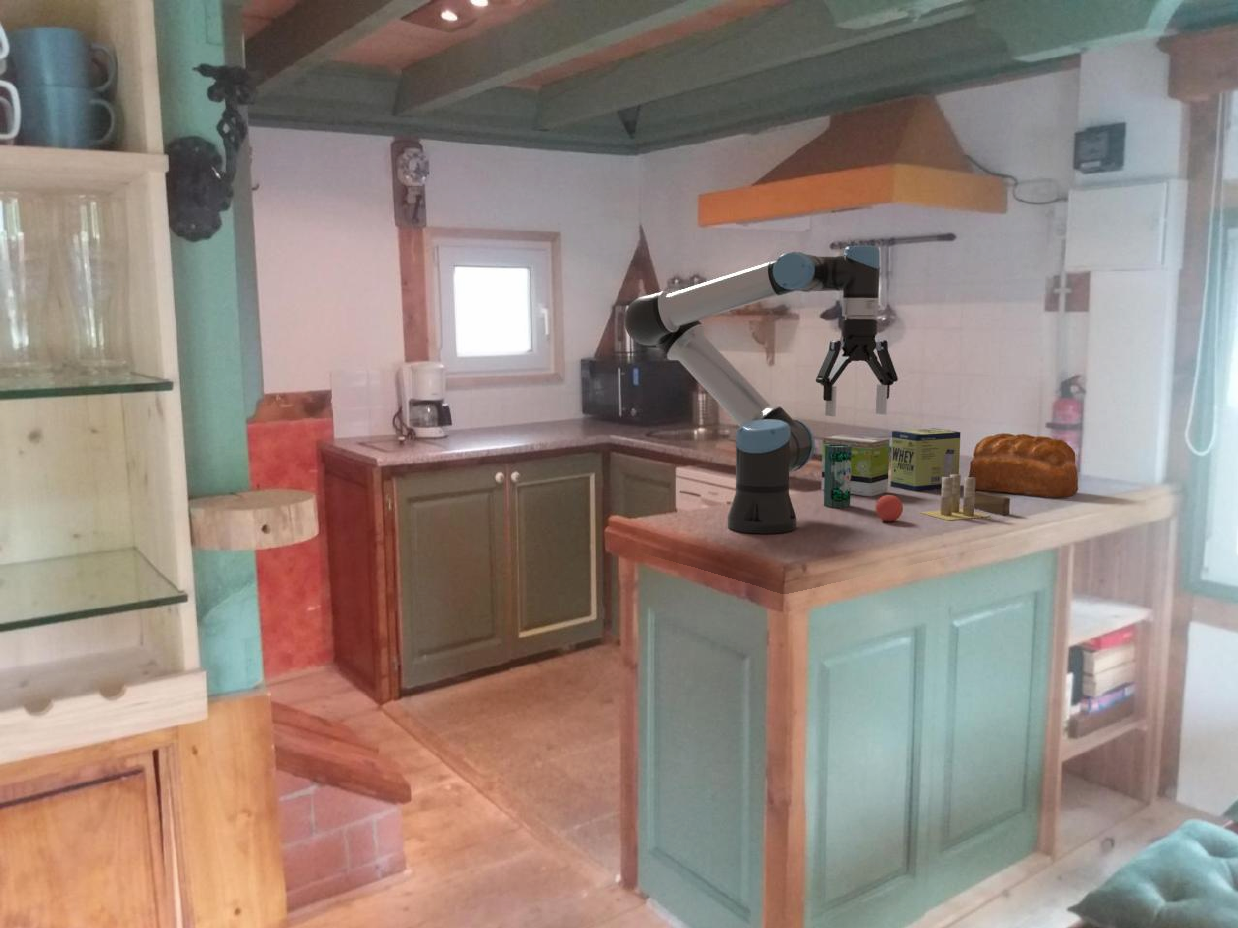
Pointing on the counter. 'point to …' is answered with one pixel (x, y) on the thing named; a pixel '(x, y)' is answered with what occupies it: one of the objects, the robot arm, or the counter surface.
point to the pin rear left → (956, 492)
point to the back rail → (992, 503)
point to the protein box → (924, 458)
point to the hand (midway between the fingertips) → (855, 415)
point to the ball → (889, 508)
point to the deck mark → (953, 515)
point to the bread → (1025, 466)
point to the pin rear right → (969, 496)
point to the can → (837, 475)
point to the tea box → (864, 463)
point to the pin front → (946, 496)
